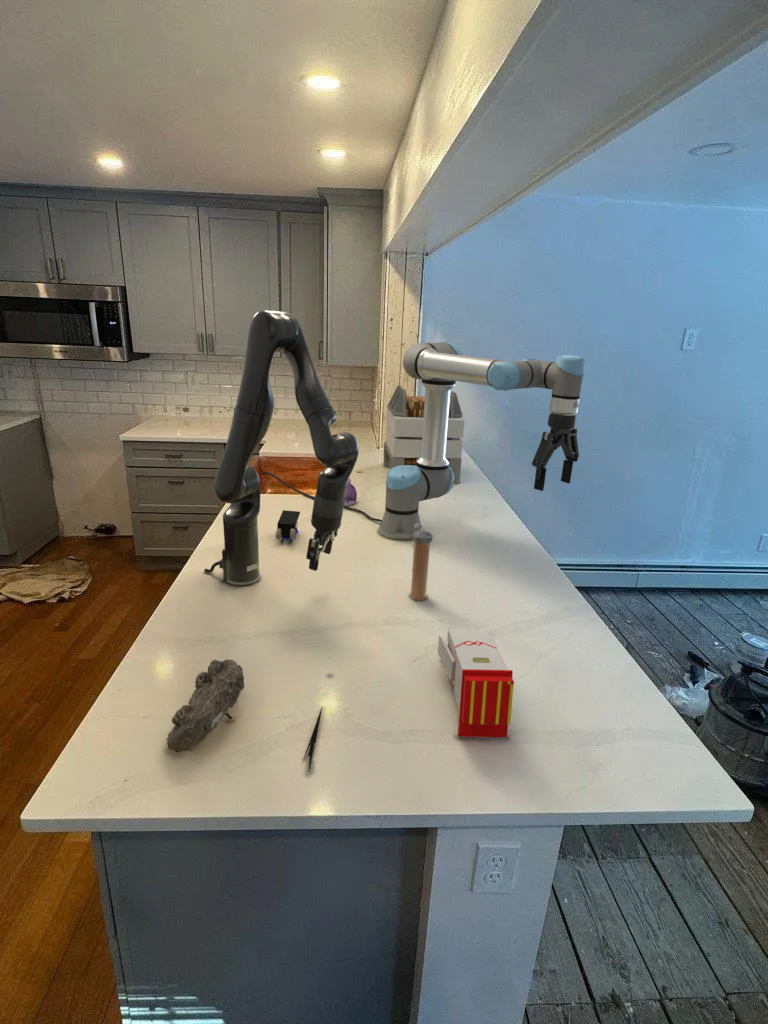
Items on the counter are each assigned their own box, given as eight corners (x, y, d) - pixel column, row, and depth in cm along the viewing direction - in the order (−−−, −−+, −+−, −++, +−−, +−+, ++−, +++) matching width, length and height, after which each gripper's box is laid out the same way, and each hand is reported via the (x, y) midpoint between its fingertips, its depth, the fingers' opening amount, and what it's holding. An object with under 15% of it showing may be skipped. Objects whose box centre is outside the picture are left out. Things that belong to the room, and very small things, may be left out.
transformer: (382, 463, 289) (386, 382, 275) (445, 464, 293) (451, 384, 279) (390, 482, 257) (394, 392, 243) (460, 483, 261) (468, 394, 247)
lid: (430, 536, 154) (430, 530, 153) (433, 543, 149) (434, 538, 149) (411, 536, 153) (411, 530, 153) (414, 543, 148) (414, 538, 148)
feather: (331, 679, 122) (336, 673, 122) (307, 777, 96) (313, 769, 95) (324, 675, 122) (329, 669, 121) (298, 772, 95) (304, 764, 95)
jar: (424, 592, 159) (429, 532, 153) (427, 600, 155) (431, 539, 149) (409, 592, 159) (413, 532, 153) (411, 600, 155) (415, 539, 149)
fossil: (192, 660, 117) (244, 628, 112) (224, 691, 120) (276, 661, 115) (142, 746, 98) (202, 712, 93) (182, 779, 101) (242, 748, 96)
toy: (488, 613, 130) (523, 677, 101) (484, 667, 133) (517, 744, 104) (435, 612, 130) (455, 676, 101) (432, 666, 133) (451, 743, 103)
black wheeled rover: (295, 549, 186) (301, 528, 200) (295, 529, 183) (300, 509, 196) (275, 549, 186) (282, 527, 199) (274, 528, 183) (281, 508, 196)
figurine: (340, 508, 222) (341, 471, 217) (330, 500, 231) (330, 464, 226) (362, 505, 226) (363, 469, 221) (351, 497, 235) (352, 462, 230)
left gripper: (325, 492, 148) (318, 543, 156) (301, 516, 136) (294, 570, 144) (352, 501, 146) (343, 552, 154) (330, 526, 134) (321, 580, 143)
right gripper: (548, 419, 148) (537, 496, 155) (598, 411, 163) (586, 482, 171) (525, 414, 153) (515, 489, 160) (575, 407, 169) (564, 476, 176)
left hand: (319, 560), depth 149 cm, fingers open, 8 cm apart
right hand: (552, 485), depth 166 cm, fingers open, 13 cm apart
